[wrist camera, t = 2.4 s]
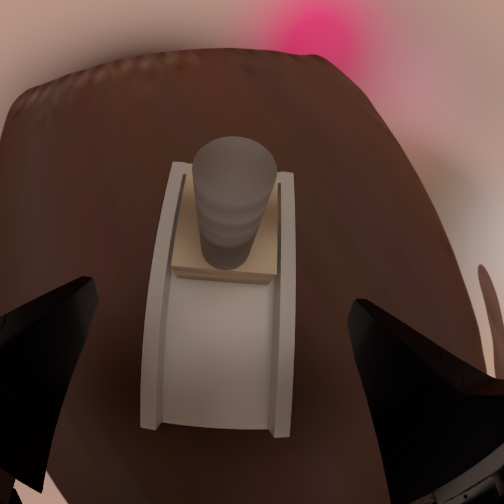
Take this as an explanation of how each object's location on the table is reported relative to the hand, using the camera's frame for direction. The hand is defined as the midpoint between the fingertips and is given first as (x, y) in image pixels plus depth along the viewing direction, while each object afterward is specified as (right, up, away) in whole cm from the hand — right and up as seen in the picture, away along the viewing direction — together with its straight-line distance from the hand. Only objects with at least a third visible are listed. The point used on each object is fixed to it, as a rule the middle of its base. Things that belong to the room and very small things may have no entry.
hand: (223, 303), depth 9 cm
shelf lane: (-1, -2, +11) cm, 11 cm away
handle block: (-1, +3, +12) cm, 12 cm away
